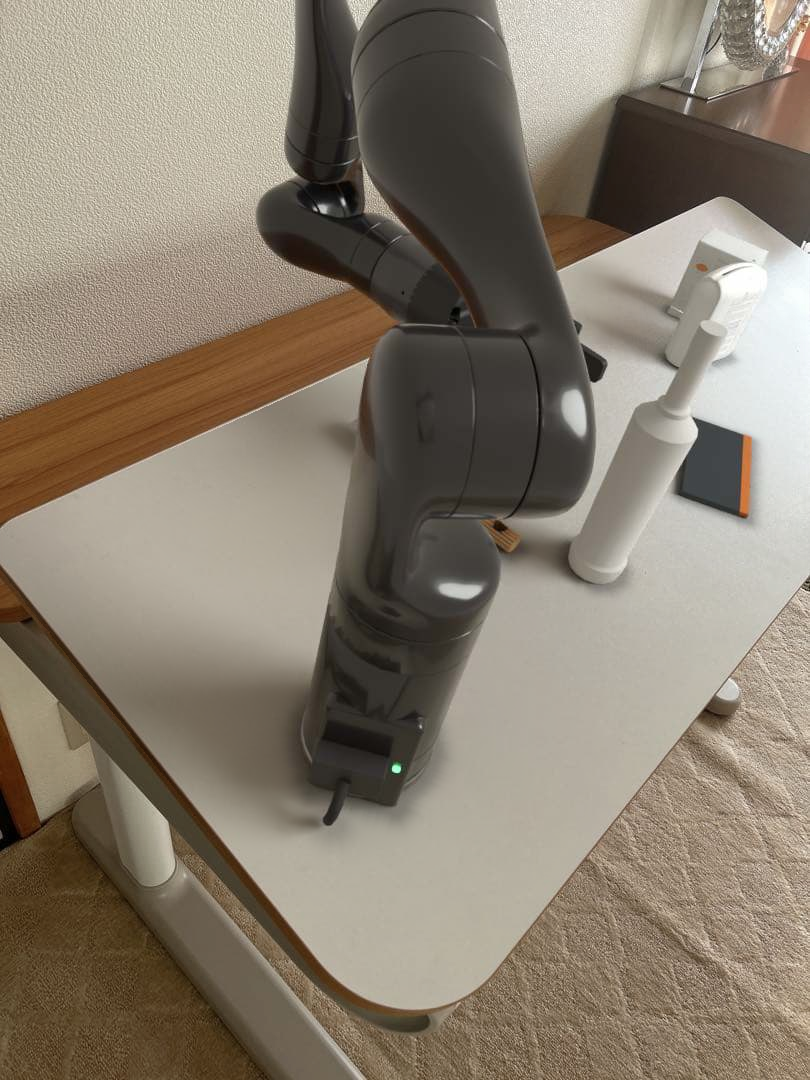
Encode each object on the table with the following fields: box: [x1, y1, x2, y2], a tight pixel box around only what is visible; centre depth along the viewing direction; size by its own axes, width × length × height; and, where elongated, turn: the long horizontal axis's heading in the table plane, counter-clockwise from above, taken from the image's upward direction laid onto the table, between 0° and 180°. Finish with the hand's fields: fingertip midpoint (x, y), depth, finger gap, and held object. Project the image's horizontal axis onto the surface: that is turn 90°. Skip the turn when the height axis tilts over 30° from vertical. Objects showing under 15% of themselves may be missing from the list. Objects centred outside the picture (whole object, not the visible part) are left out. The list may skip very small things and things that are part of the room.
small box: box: [666, 227, 769, 320], centre depth 114 cm, size 8×6×10 cm
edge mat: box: [679, 416, 753, 519], centre depth 94 cm, size 14×7×1 cm, turn 162°
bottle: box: [567, 320, 728, 585], centre depth 71 cm, size 5×5×25 cm
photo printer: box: [664, 262, 768, 368], centre depth 106 cm, size 10×4×12 cm, turn 126°
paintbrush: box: [348, 418, 522, 553], centre depth 82 cm, size 4×3×20 cm
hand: (574, 388), depth 73 cm, fingers open, 8 cm apart
